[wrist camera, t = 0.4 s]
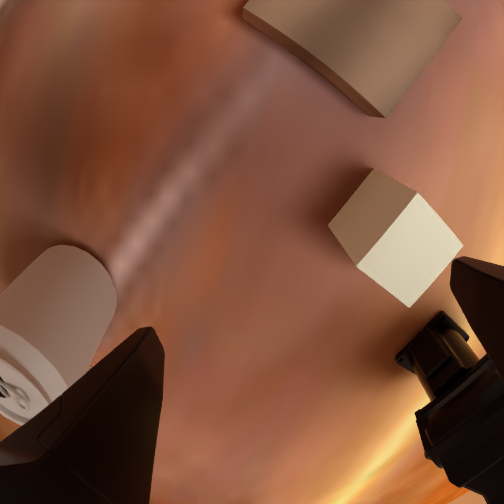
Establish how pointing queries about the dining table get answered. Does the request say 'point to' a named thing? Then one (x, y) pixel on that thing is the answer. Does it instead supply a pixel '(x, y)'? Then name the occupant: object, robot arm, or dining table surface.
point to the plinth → (359, 42)
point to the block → (394, 236)
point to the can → (51, 328)
